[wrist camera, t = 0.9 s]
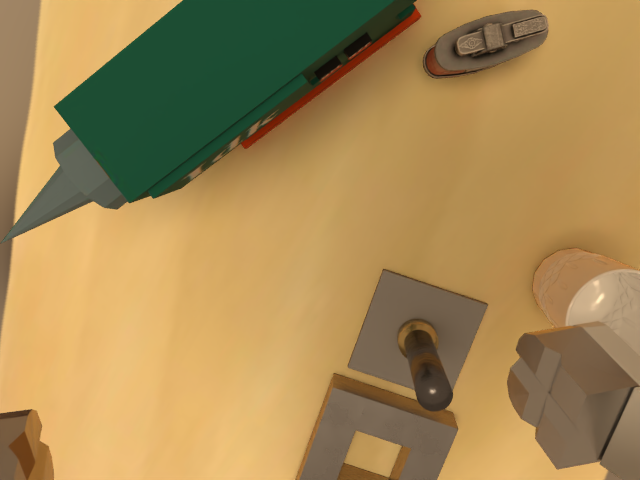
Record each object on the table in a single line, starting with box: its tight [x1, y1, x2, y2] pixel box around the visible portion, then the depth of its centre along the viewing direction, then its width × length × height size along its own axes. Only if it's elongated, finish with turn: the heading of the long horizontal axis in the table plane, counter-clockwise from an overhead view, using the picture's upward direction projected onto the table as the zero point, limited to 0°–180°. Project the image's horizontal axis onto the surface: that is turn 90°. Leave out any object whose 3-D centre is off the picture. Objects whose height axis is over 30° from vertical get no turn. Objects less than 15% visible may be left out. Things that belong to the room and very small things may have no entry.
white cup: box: [532, 248, 640, 356], centre depth 47 cm, size 8×8×10 cm
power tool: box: [1, 0, 421, 243], centre depth 40 cm, size 32×7×20 cm, turn 126°
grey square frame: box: [295, 373, 458, 480], centre depth 54 cm, size 12×12×3 cm
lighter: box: [423, 10, 548, 78], centre depth 43 cm, size 8×3×10 cm, turn 105°
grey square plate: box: [348, 269, 488, 391], centre depth 53 cm, size 10×10×1 cm
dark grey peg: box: [397, 319, 453, 411], centre depth 47 cm, size 4×4×12 cm
